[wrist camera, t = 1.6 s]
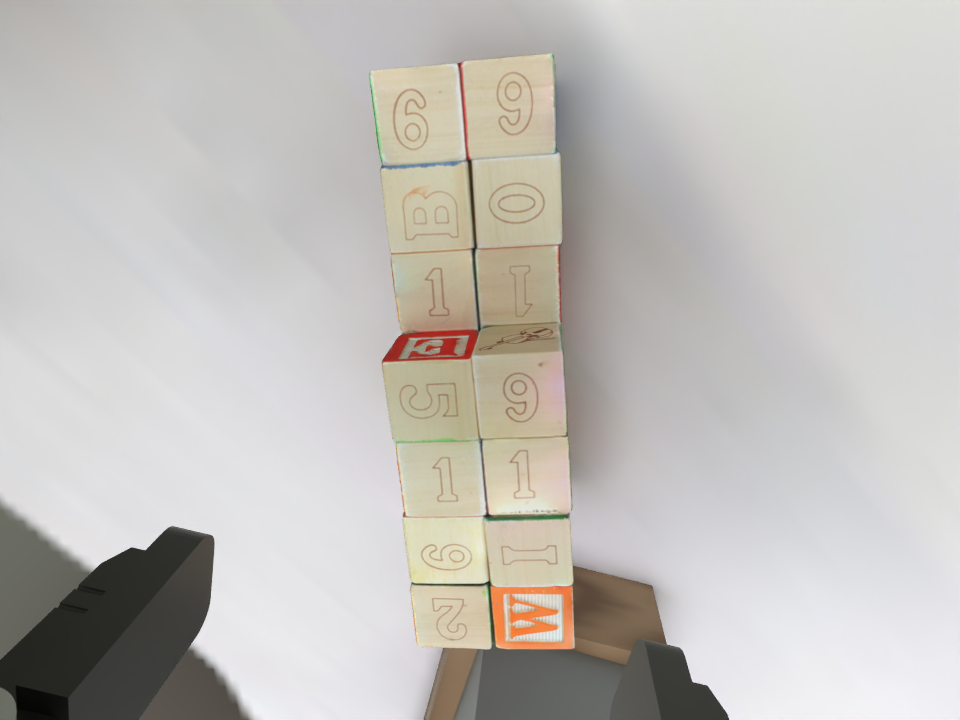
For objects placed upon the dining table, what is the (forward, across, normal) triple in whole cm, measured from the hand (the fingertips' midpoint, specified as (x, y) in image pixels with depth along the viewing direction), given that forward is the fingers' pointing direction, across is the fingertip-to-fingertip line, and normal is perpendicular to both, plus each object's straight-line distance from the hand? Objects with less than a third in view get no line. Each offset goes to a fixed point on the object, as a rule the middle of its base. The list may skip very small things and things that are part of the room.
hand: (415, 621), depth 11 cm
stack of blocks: (+22, 0, 0) cm, 22 cm away
